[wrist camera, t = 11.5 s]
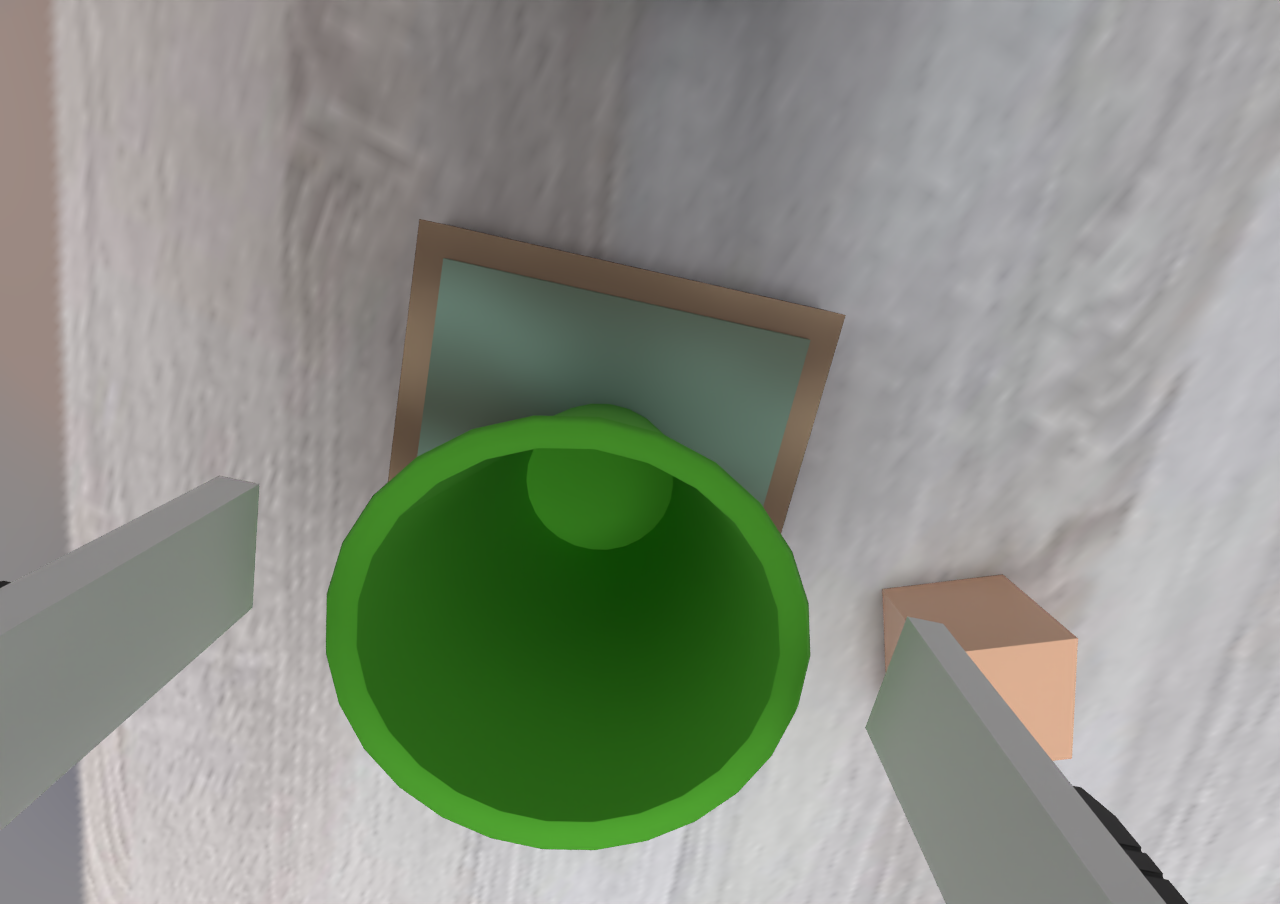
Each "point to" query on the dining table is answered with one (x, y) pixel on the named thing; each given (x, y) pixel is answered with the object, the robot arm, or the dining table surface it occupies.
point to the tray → (608, 354)
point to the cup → (567, 631)
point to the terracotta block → (1001, 648)
